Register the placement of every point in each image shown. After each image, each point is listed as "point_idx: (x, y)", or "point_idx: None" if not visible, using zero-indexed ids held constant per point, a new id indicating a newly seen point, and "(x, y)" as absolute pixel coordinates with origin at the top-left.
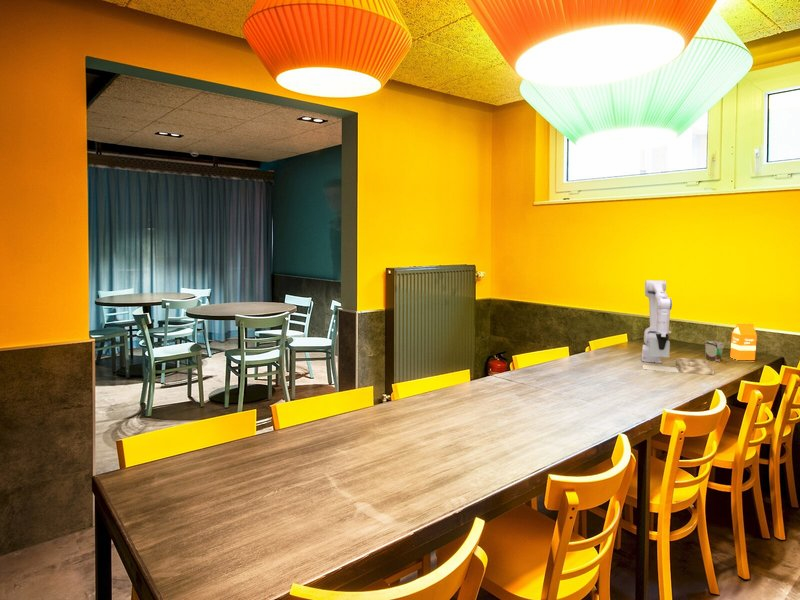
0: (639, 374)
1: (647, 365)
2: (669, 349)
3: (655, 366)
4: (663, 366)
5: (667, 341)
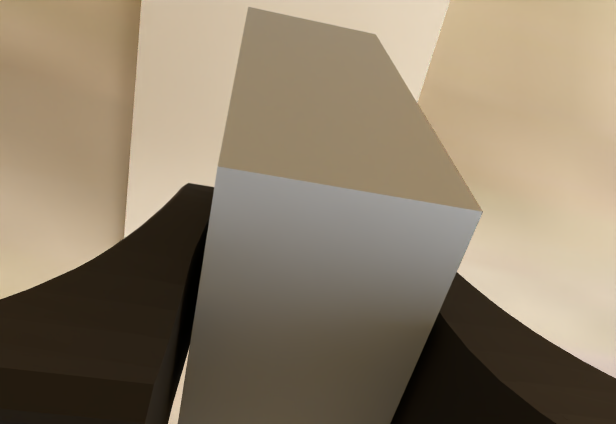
0: (568, 349)
1: (152, 206)
2: (411, 93)
3: (183, 123)
4: (144, 5)
5: (451, 280)
